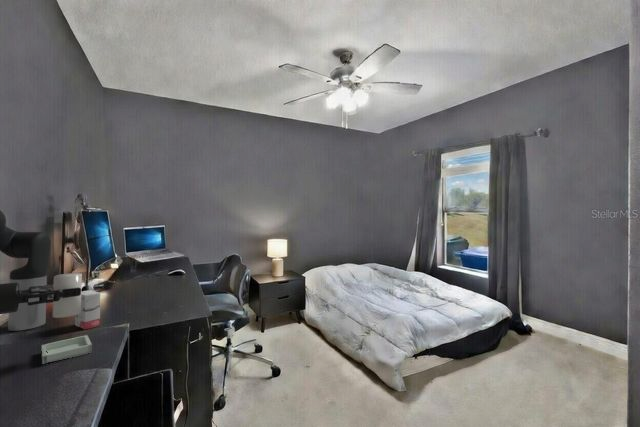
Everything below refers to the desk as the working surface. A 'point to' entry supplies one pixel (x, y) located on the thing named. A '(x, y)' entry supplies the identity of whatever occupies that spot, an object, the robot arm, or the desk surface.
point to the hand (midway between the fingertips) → (79, 289)
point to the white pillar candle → (68, 304)
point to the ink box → (89, 310)
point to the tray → (66, 349)
